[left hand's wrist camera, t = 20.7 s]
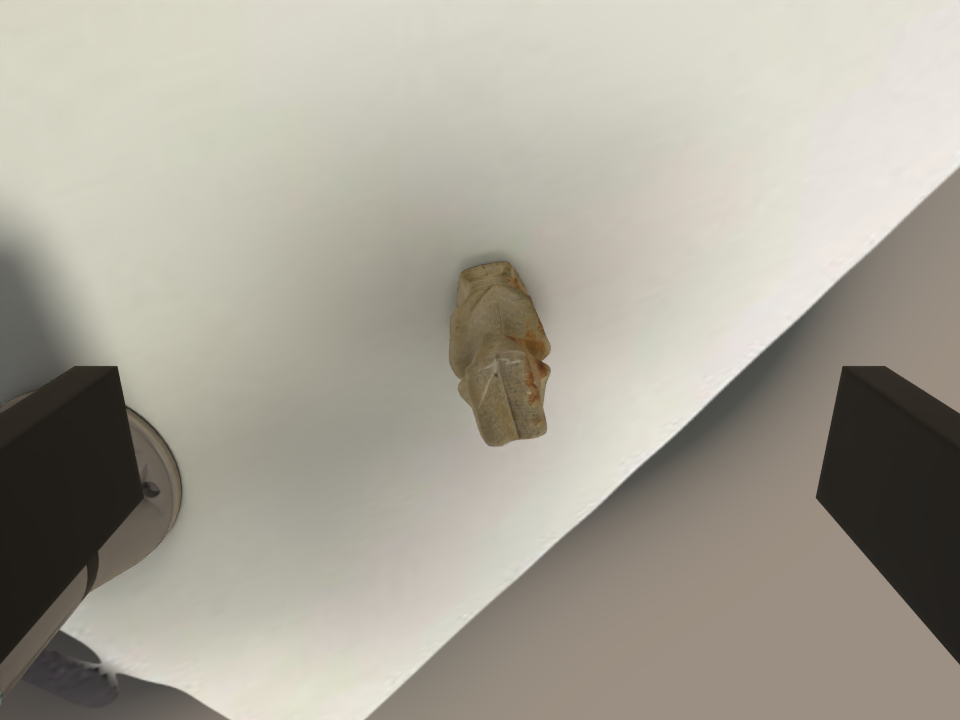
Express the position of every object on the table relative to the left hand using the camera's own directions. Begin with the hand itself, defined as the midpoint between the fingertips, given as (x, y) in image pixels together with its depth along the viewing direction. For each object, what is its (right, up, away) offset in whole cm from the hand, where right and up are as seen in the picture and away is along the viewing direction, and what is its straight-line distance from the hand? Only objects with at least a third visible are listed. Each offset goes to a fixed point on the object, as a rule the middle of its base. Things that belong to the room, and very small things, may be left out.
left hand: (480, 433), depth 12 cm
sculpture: (+1, +5, +34) cm, 35 cm away
